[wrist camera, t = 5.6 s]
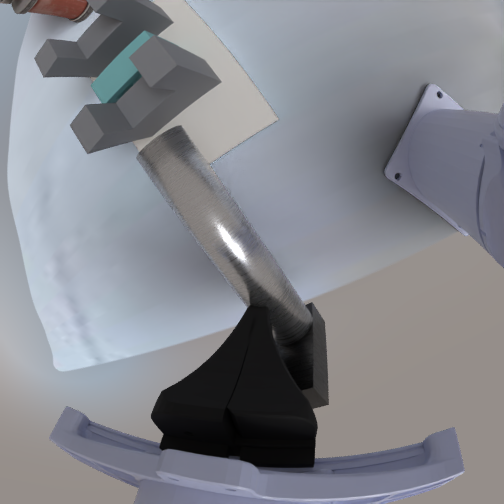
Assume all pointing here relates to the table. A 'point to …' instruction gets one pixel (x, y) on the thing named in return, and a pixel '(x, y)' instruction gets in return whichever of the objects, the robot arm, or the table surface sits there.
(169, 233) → the table surface
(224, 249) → the shaft
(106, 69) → the spacer
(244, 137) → the shaft stand
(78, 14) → the lighter
